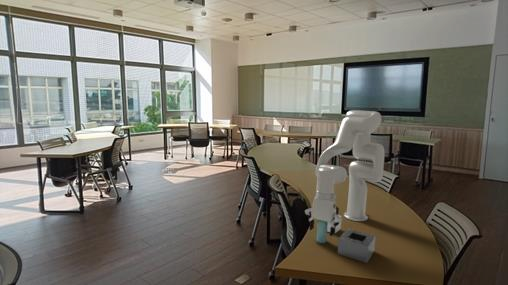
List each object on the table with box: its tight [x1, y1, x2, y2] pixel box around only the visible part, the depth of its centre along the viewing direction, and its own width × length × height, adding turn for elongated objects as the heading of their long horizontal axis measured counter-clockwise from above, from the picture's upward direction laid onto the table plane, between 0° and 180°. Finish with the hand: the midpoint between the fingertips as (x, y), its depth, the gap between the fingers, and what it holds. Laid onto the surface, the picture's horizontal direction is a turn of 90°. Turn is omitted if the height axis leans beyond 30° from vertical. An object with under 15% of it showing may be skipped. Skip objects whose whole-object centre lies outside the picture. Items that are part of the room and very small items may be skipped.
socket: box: [337, 228, 377, 264], centre depth 130 cm, size 12×12×7 cm
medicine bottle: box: [327, 205, 342, 234], centre depth 153 cm, size 7×7×12 cm
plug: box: [316, 220, 328, 244], centre depth 140 cm, size 4×4×10 cm
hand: (321, 232), depth 140 cm, fingers open, 9 cm apart
